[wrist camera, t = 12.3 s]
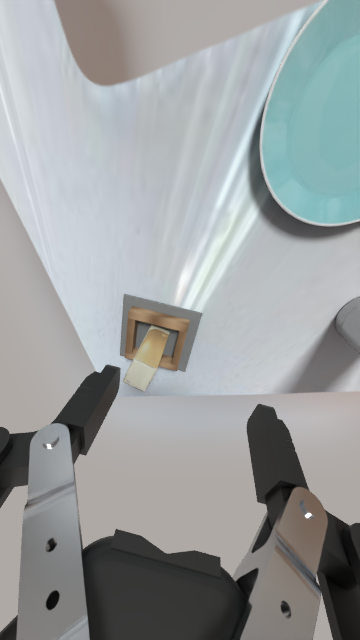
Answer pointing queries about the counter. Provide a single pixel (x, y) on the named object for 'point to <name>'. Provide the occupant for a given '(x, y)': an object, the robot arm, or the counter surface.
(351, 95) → the plate
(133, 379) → the skincare box
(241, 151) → the counter surface
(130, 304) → the mat
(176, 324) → the collar
